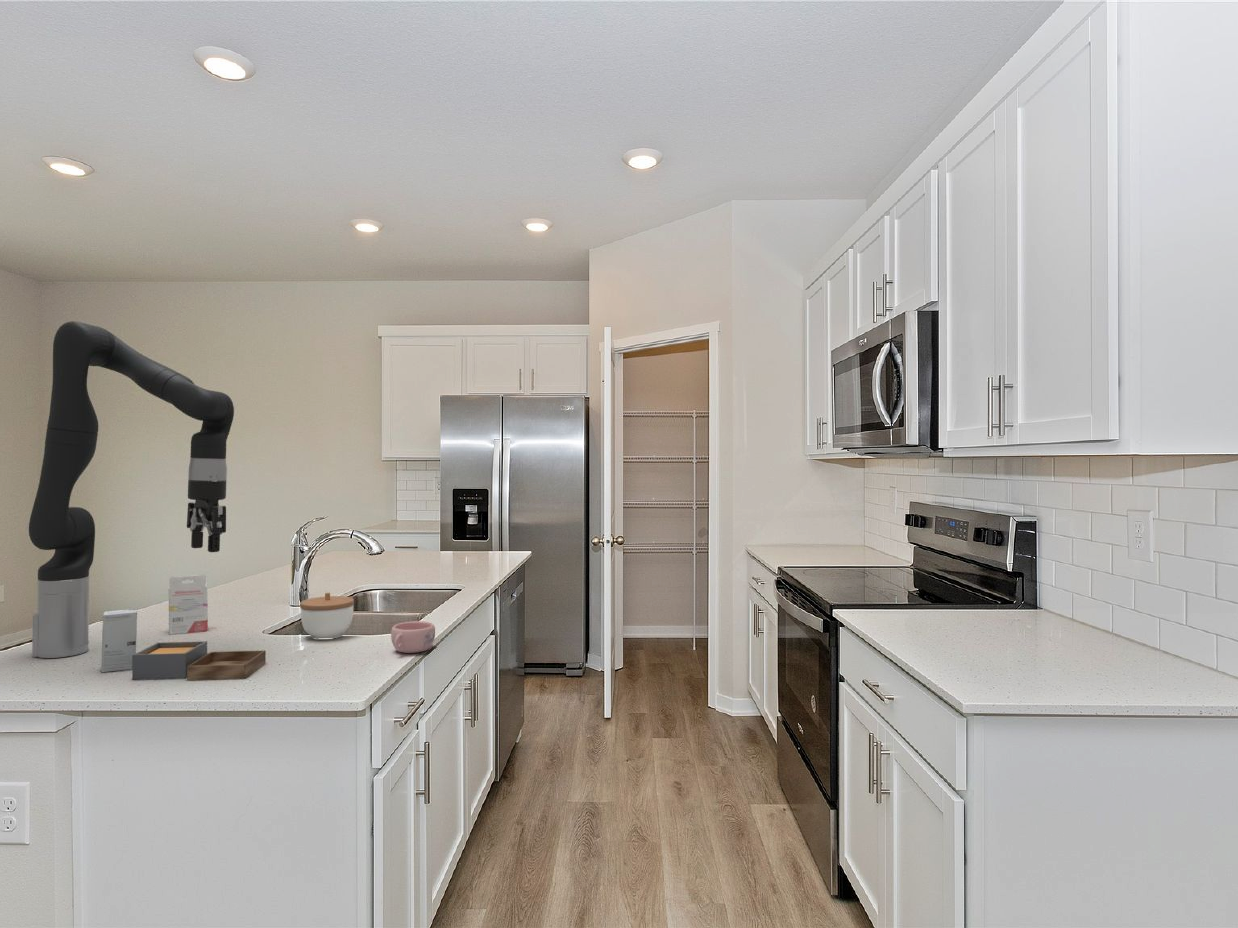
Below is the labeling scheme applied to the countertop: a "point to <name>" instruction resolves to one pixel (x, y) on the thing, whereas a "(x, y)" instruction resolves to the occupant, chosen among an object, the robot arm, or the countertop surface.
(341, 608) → the lidded bowl
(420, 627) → the mug
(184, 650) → the orange flat square block
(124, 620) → the skincare box
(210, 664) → the wooden square tray
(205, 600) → the ink cartridge box
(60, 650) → the robot arm
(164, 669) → the tray
